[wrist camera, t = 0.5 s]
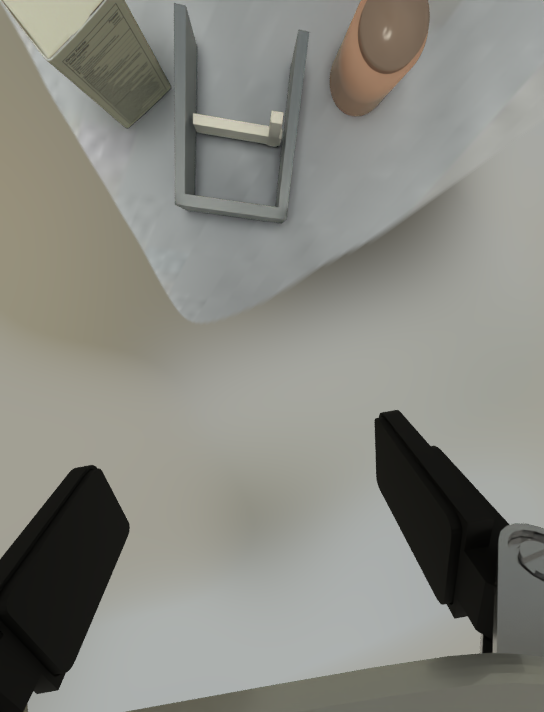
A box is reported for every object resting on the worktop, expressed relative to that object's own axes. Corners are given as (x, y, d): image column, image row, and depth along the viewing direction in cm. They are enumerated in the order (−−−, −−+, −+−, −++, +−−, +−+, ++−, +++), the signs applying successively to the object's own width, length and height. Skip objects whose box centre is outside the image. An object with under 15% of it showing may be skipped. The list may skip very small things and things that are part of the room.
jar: (336, 33, 27) (366, -44, 20) (395, 46, 28) (446, -24, 20) (324, 111, 29) (348, 66, 22) (379, 121, 30) (420, 81, 23)
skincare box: (140, 39, 26) (57, -116, 15) (174, 90, 28) (120, -16, 16) (92, 87, 27) (-20, -24, 16) (127, 133, 29) (46, 62, 17)
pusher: (197, 124, 28) (184, 95, 23) (280, 138, 29) (286, 113, 24) (197, 133, 29) (184, 107, 23) (279, 147, 30) (285, 124, 24)
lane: (187, 45, 27) (174, 3, 22) (299, 67, 28) (309, 32, 23) (186, 210, 32) (174, 204, 27) (281, 223, 33) (286, 219, 28)
